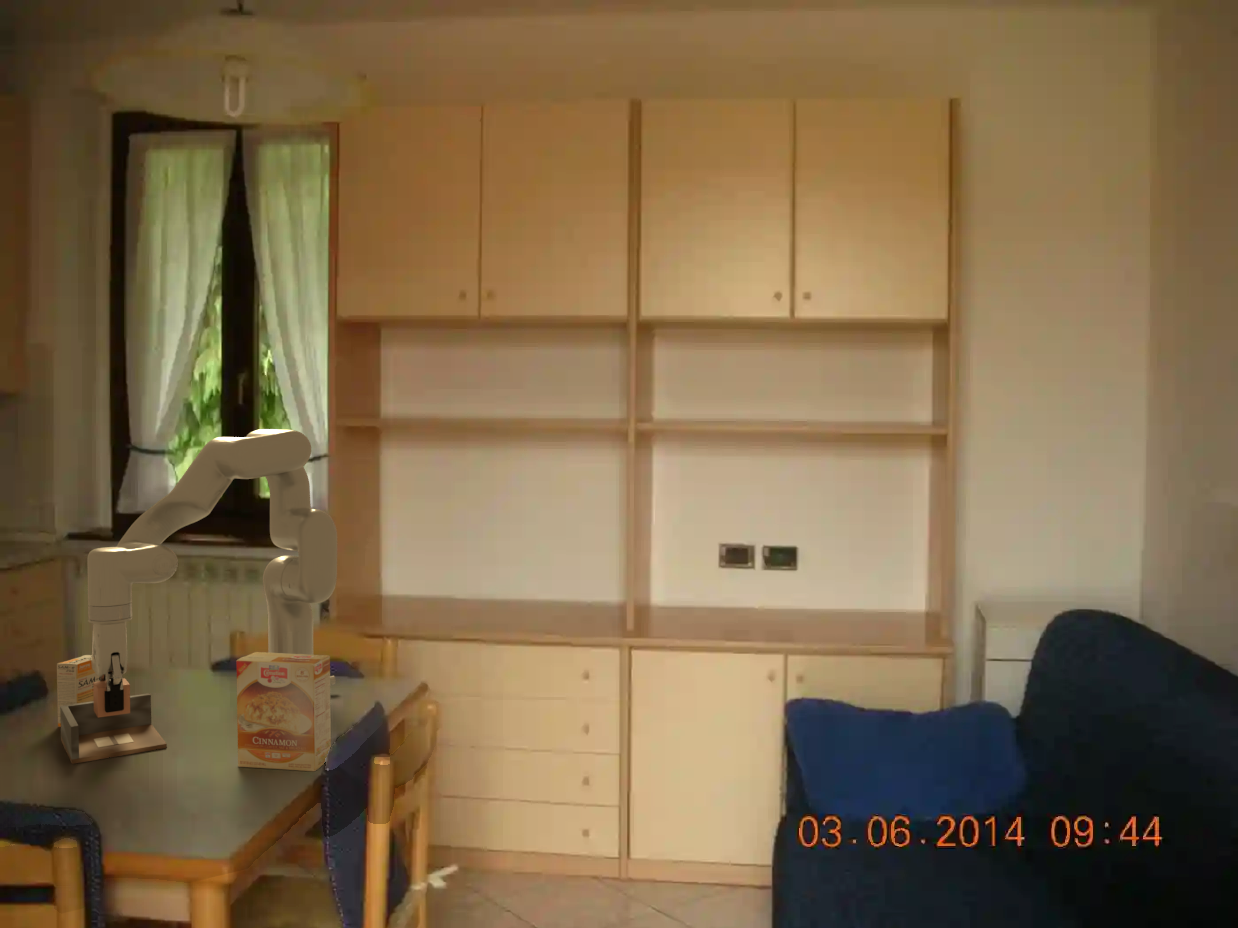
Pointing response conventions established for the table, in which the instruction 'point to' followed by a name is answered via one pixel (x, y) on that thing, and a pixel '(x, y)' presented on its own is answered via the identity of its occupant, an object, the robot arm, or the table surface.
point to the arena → (108, 731)
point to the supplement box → (75, 682)
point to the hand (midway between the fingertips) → (111, 706)
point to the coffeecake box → (283, 711)
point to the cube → (99, 699)
